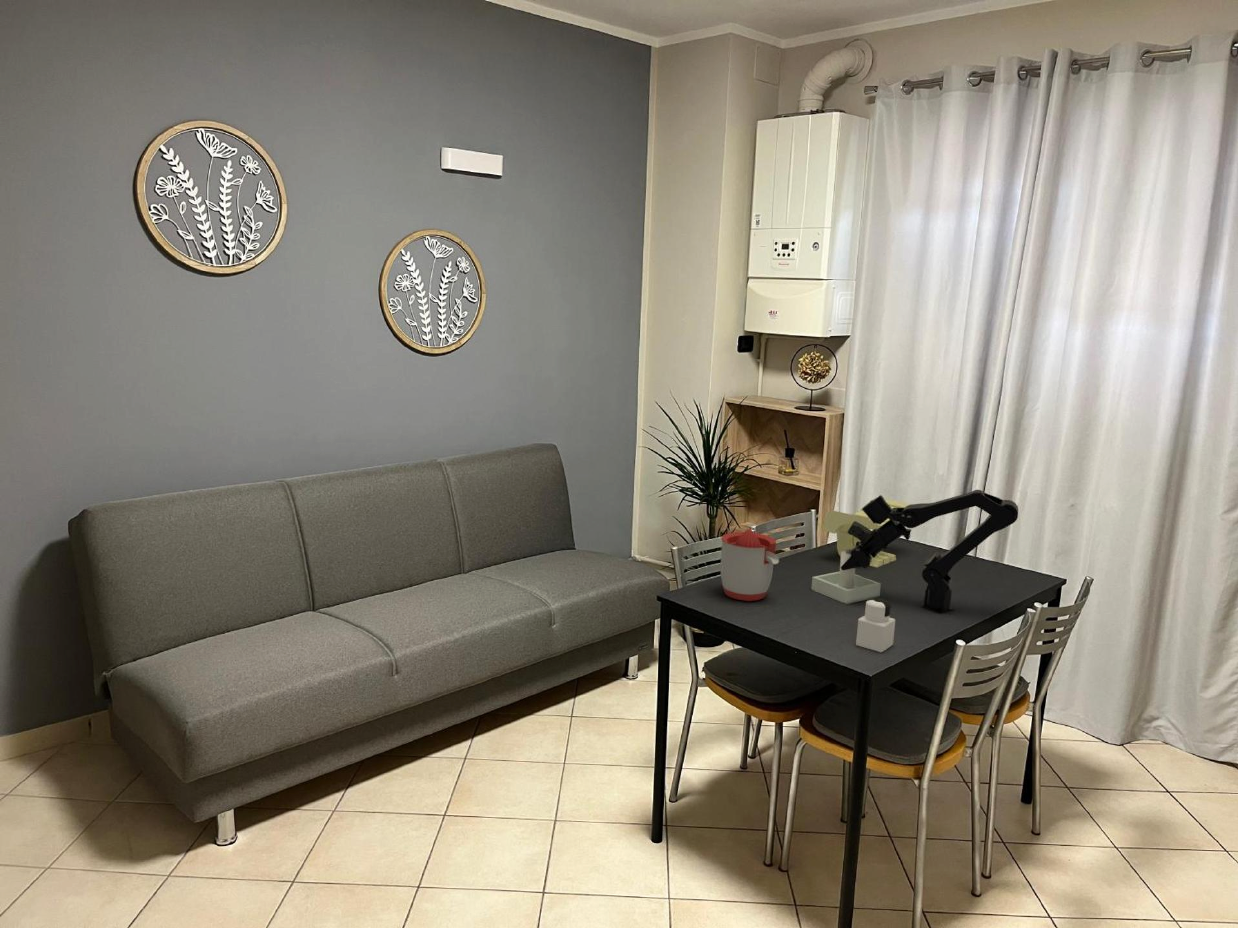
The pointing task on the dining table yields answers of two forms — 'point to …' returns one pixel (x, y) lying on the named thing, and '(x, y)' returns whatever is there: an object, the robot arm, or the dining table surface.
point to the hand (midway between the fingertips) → (843, 566)
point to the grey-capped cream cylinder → (846, 572)
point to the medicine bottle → (876, 626)
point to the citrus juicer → (747, 564)
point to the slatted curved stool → (841, 525)
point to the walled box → (831, 589)
